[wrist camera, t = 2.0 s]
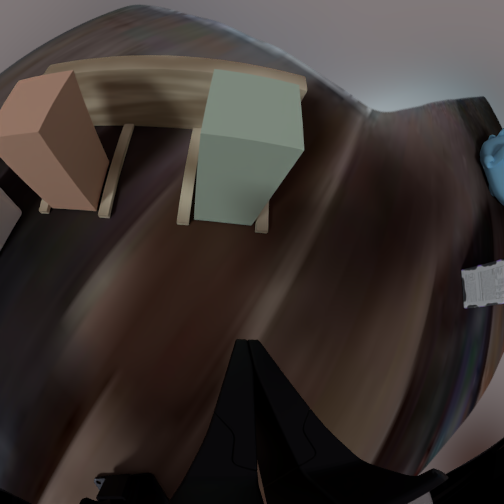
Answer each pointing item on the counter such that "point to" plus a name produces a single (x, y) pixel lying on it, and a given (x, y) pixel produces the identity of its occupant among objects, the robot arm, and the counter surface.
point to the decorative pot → (494, 164)
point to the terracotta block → (53, 141)
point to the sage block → (245, 145)
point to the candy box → (483, 284)
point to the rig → (156, 107)
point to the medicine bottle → (7, 216)
